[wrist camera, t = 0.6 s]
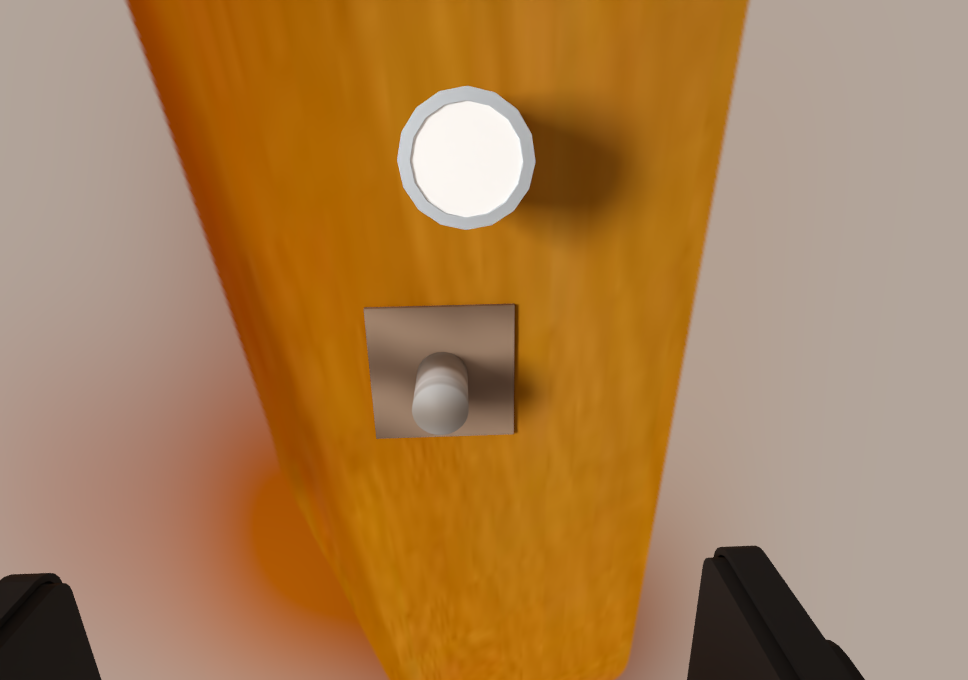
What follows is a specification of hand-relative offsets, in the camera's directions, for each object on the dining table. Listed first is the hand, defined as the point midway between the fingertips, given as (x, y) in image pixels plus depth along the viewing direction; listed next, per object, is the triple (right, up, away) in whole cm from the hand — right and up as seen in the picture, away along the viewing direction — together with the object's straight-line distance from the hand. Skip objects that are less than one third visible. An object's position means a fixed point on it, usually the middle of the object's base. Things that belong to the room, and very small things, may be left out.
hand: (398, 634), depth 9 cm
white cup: (0, +16, +27) cm, 31 cm away
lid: (-2, +2, +33) cm, 33 cm away
